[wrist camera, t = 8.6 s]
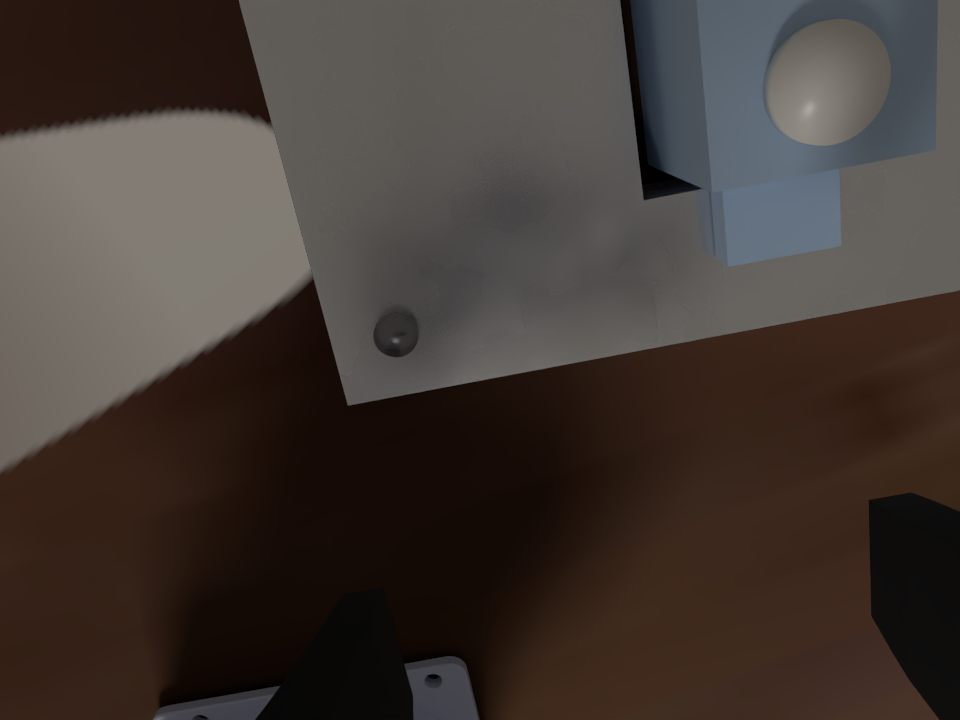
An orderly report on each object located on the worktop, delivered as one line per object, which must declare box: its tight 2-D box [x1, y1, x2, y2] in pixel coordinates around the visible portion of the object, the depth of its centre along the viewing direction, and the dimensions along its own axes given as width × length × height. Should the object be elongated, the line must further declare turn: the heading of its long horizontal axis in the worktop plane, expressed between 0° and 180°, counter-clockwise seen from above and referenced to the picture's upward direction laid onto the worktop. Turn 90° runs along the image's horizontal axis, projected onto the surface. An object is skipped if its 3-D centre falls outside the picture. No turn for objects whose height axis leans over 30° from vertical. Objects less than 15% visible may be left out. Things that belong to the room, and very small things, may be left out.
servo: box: [630, 0, 938, 267], centre depth 15 cm, size 4×10×5 cm, turn 11°
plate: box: [239, 0, 960, 406], centre depth 16 cm, size 20×14×2 cm
